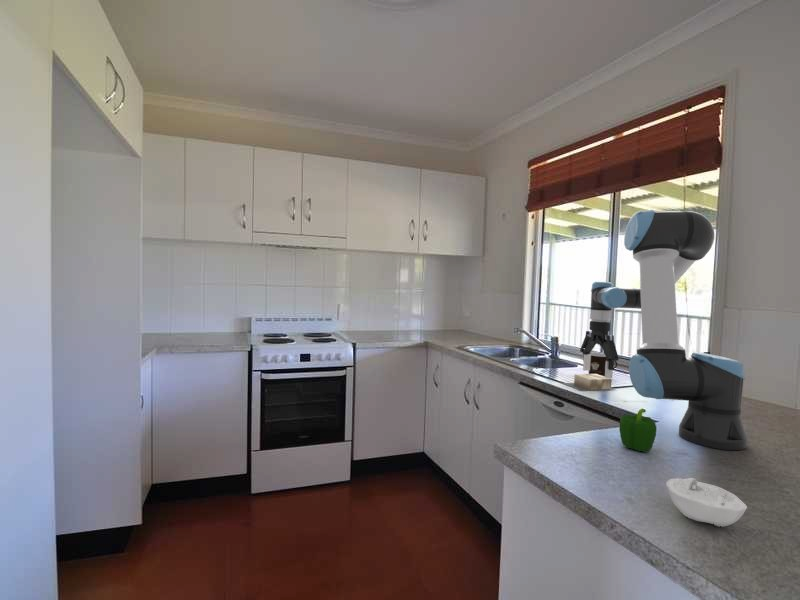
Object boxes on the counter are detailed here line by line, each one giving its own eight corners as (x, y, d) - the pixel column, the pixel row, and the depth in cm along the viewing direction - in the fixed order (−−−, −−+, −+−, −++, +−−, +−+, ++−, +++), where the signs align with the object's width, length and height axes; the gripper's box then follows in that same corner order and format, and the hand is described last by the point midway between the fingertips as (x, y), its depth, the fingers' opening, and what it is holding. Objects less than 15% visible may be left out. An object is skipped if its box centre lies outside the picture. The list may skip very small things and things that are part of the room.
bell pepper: (636, 456, 105) (639, 416, 105) (611, 443, 113) (613, 405, 113) (664, 453, 108) (666, 414, 107) (637, 441, 116) (640, 404, 115)
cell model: (732, 546, 70) (735, 505, 70) (653, 512, 80) (656, 476, 80) (753, 527, 76) (756, 489, 76) (677, 497, 86) (680, 464, 85)
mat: (596, 383, 180) (596, 382, 180) (616, 391, 168) (616, 390, 168) (561, 384, 177) (561, 383, 177) (579, 392, 165) (579, 390, 165)
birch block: (596, 373, 178) (574, 374, 175) (611, 378, 169) (589, 379, 167) (595, 383, 178) (574, 384, 176) (610, 389, 169) (588, 389, 167)
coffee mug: (581, 375, 195) (583, 353, 194) (595, 374, 198) (596, 352, 198) (603, 381, 184) (605, 358, 184) (617, 380, 188) (619, 357, 187)
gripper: (631, 324, 160) (627, 381, 161) (588, 317, 185) (586, 367, 186) (613, 324, 159) (609, 381, 160) (573, 317, 183) (570, 367, 184)
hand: (597, 374), depth 173 cm, fingers open, 13 cm apart
